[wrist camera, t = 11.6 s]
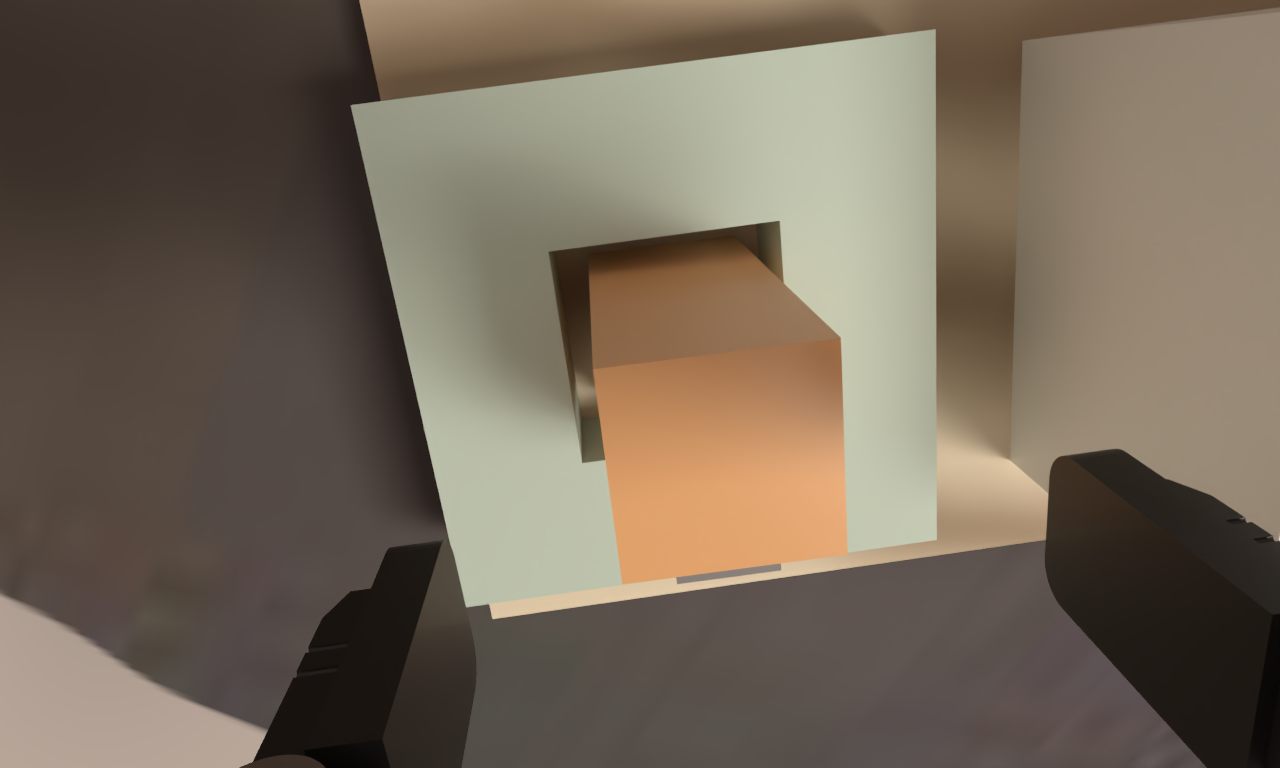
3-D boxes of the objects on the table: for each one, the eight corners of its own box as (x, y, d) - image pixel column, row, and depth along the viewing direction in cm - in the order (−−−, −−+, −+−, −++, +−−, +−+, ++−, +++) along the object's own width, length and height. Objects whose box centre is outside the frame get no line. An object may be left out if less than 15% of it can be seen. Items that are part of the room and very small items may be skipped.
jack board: (367, -1, 21) (358, -5, 20) (1477, -142, 22) (1517, -153, 21) (495, 600, 27) (492, 619, 26) (1360, 476, 28) (1388, 490, 27)
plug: (588, 253, 23) (592, 368, 13) (733, 235, 23) (841, 337, 13) (609, 416, 24) (627, 623, 15) (745, 399, 24) (849, 593, 15)
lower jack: (381, 103, 21) (350, 105, 18) (888, 37, 21) (935, 29, 19) (477, 550, 25) (464, 607, 23) (897, 490, 26) (936, 539, 23)
